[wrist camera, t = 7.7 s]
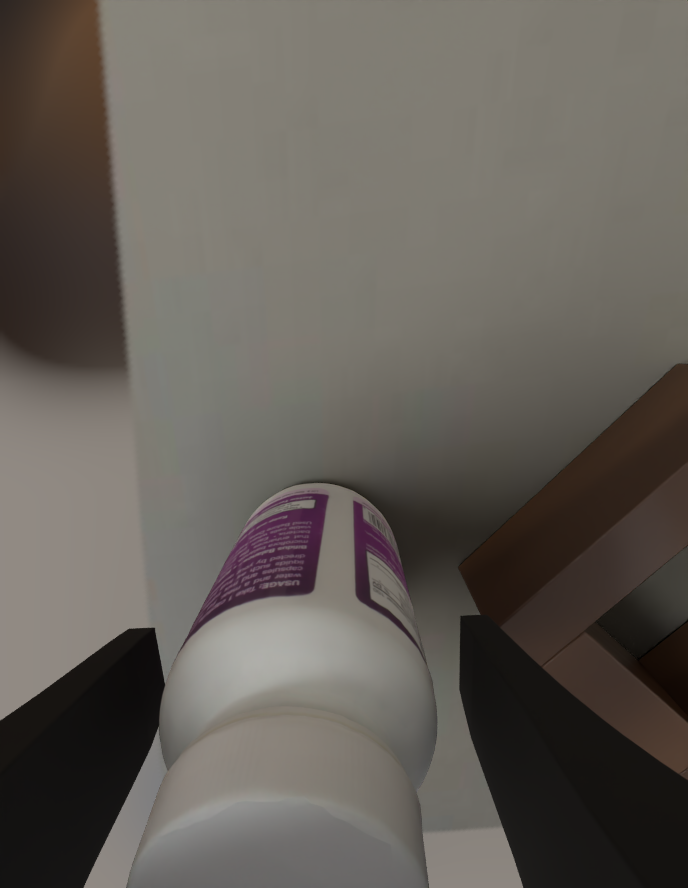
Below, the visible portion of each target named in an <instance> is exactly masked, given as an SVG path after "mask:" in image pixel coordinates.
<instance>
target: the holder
mask: <svg viewBox="0 0 688 888" xmlns="http://www.w3.org/2000/svg"><path fill="white" fill-rule="evenodd" d="M687 545H688V364H677V365H676V366H675V367H674V368H672V369H671V370H670V371H669V372H668V373H667V374H666V375H665V376H664V377H663V378H662V379H661V380H660V381H658V382H657V383H656V384H655V385H654V386H653V387H652V388H651V389H650V390H649V391H648V392H647V393H645V394H644V395H643V396H642V397H641V398H640V399H639V400H638V401H637V402H636V403H635V404H634V405H633V406H631V407H630V408H629V409H628V410H627V411H626V412H625V413H624V414H623V415H622V416H621V417H620V418H618V419H617V420H616V421H615V422H614V423H613V424H612V425H611V426H610V427H609V428H608V429H607V430H606V431H604V432H603V433H602V434H601V435H600V436H599V437H598V438H597V439H596V440H595V441H594V442H593V443H592V444H590V445H589V446H588V447H587V448H586V449H585V450H584V451H583V452H582V453H581V454H580V455H579V456H577V457H576V458H575V459H574V460H573V461H572V462H571V463H570V464H569V465H568V466H567V467H566V468H565V469H563V470H562V471H561V472H560V473H559V474H558V475H557V476H556V477H555V478H554V479H553V480H552V481H550V482H549V483H548V484H547V485H546V486H545V487H544V488H543V489H542V490H541V491H540V492H539V493H538V494H536V495H535V496H534V497H533V498H532V499H531V500H530V501H529V502H528V503H527V504H526V505H525V506H523V507H522V508H521V509H520V510H519V511H518V512H517V513H516V514H515V515H514V516H513V517H512V518H511V519H509V520H508V521H507V522H506V523H505V524H504V525H503V526H502V527H501V528H500V529H499V530H498V531H496V532H495V533H494V534H493V535H492V536H491V537H490V538H489V539H488V540H487V541H486V542H485V543H484V544H482V545H481V546H480V547H479V548H478V549H477V550H476V551H475V552H474V553H473V554H472V555H471V556H469V557H468V558H467V559H466V560H465V561H464V562H463V563H462V564H461V565H460V566H459V567H458V568H459V570H460V572H461V574H462V577H463V579H464V581H465V583H466V585H467V587H468V589H469V591H470V593H471V595H472V598H473V600H474V602H475V604H476V606H477V608H478V610H479V612H480V614H481V615H488V616H489V617H490V618H491V619H492V620H493V621H494V622H495V623H496V624H497V625H498V626H499V627H500V628H501V629H502V630H503V631H504V632H505V633H506V634H507V635H508V636H510V637H511V638H512V639H513V640H514V641H515V642H516V643H517V644H518V645H519V646H520V647H521V648H522V649H523V650H524V651H525V652H526V653H527V654H528V655H529V656H530V657H531V658H532V659H534V660H535V661H536V662H537V663H538V664H539V665H540V666H541V667H542V668H543V669H544V670H545V671H547V672H548V673H549V674H550V675H551V676H552V677H553V678H554V679H555V680H557V681H558V682H559V683H560V684H561V685H562V686H563V687H564V688H566V689H567V690H568V691H569V692H570V693H571V694H573V695H574V696H575V697H576V698H577V699H579V700H580V701H581V702H582V703H584V704H585V705H586V706H587V707H589V708H590V709H591V710H592V711H593V712H595V713H596V714H597V715H598V716H600V717H601V718H602V719H603V720H605V721H606V722H607V723H608V724H610V725H611V726H612V727H614V728H615V729H616V730H618V731H619V732H620V733H622V734H623V735H624V736H626V737H627V738H628V739H630V740H631V741H633V742H634V743H635V744H637V745H638V746H640V747H641V748H642V749H644V750H645V751H646V752H648V753H649V754H651V755H652V756H653V757H655V758H656V759H658V760H659V761H660V762H662V763H663V764H665V765H666V766H668V767H669V768H671V769H672V770H674V771H675V772H677V773H678V774H680V775H681V776H683V777H684V778H686V779H687V780H688V622H687V623H685V624H684V625H683V626H682V627H680V628H679V629H678V630H677V631H675V632H674V633H673V634H671V635H670V636H669V637H668V638H666V639H665V640H664V641H662V642H661V643H660V644H659V645H657V646H656V647H655V648H654V649H652V650H651V651H650V652H648V653H647V654H646V655H645V656H643V657H642V658H641V659H640V660H637V659H636V658H635V657H634V656H633V655H631V654H630V653H629V652H628V651H627V650H626V649H625V648H624V647H623V646H621V645H620V644H619V643H618V642H617V641H616V640H615V639H614V638H613V637H611V636H610V635H609V634H608V633H607V632H606V631H605V630H604V629H603V628H601V627H600V626H599V625H598V624H597V623H596V622H595V621H596V620H598V619H599V618H600V617H601V616H602V615H604V614H605V613H606V612H607V611H608V610H610V609H611V608H612V607H613V606H615V605H616V604H617V603H618V602H619V601H621V600H622V599H623V598H624V597H625V596H627V595H628V594H629V593H630V592H631V591H633V590H634V589H635V588H636V587H638V586H639V585H640V584H641V583H642V582H644V581H645V580H646V579H647V578H648V577H650V576H651V575H652V574H653V573H655V572H656V571H657V570H658V569H659V568H661V567H662V566H663V565H664V564H665V563H667V562H668V561H669V560H670V559H671V558H673V557H674V556H675V555H676V554H678V553H679V552H680V551H681V550H682V549H684V548H685V547H686V546H687Z"/></svg>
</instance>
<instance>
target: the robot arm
mask: <svg viewBox="0 0 688 888" xmlns="http://www.w3.org/2000/svg"><path fill="white" fill-rule="evenodd" d="M164 688H165V682H164V677H163V671H162V666H161V660H160V655H159V650H158V644H157V639H156V633H155V628H136V629H128V630H127V631H125V632H124V633H122V634H120V635H119V636H117V637H116V638H115V639H113V640H112V641H110V642H109V643H108V644H106V645H105V646H103V647H102V648H101V649H99V650H98V651H97V652H95V653H94V654H93V655H91V656H90V657H88V658H87V659H86V660H85V661H83V662H82V663H80V664H79V665H78V666H76V667H75V668H74V669H72V670H71V671H70V672H68V673H67V674H65V675H64V676H63V677H61V678H60V679H59V680H57V681H56V682H55V683H53V684H52V685H50V686H49V687H48V688H46V689H45V690H44V691H42V692H41V693H40V694H38V695H37V696H35V697H34V698H32V699H31V700H30V701H28V702H27V703H25V704H24V705H22V706H21V707H19V708H18V709H16V710H15V711H14V712H12V713H11V714H9V715H8V716H6V717H5V718H4V719H2V720H1V721H0V888H84V885H85V883H86V881H87V879H88V876H89V874H90V872H91V870H92V868H93V866H94V864H95V861H96V859H97V857H98V855H99V853H100V851H101V849H102V847H103V845H104V843H105V841H106V839H107V837H108V835H109V833H110V831H111V829H112V827H113V825H114V823H115V821H116V819H117V816H118V815H119V812H120V810H121V808H122V806H123V804H124V802H125V800H126V798H127V796H128V794H129V792H130V790H131V788H132V786H133V784H134V782H135V780H136V777H137V775H138V773H139V771H140V769H141V767H142V765H143V763H144V761H145V759H146V756H147V754H148V752H149V750H150V748H151V746H152V743H153V740H154V737H155V735H156V732H157V729H158V727H159V716H160V707H161V700H162V695H163V691H164ZM459 690H460V694H461V698H462V702H463V707H464V711H465V715H466V719H467V723H468V727H469V731H470V735H471V738H472V741H473V744H474V747H475V750H476V753H477V756H478V758H479V761H480V764H481V767H482V770H483V773H484V776H485V778H486V781H487V784H488V787H489V790H490V792H491V795H492V798H493V801H494V804H495V806H496V809H497V812H498V815H499V818H500V820H501V823H502V826H503V829H504V832H505V834H506V837H507V840H508V842H509V846H510V848H511V851H512V854H513V857H514V859H515V863H516V866H517V869H518V872H519V875H520V878H521V881H522V884H523V888H688V780H687V779H686V778H684V777H683V776H681V775H680V774H678V773H677V772H675V771H674V770H672V769H671V768H669V767H668V766H666V765H665V764H663V763H662V762H660V761H659V760H658V759H656V758H655V757H653V756H652V755H651V754H649V753H648V752H646V751H645V750H644V749H642V748H641V747H640V746H638V745H637V744H635V743H634V742H633V741H631V740H630V739H628V738H627V737H626V736H624V735H623V734H622V733H620V732H619V731H618V730H616V729H615V728H614V727H612V726H611V725H610V724H608V723H607V722H606V721H605V720H603V719H602V718H601V717H600V716H598V715H597V714H596V713H595V712H593V711H592V710H591V709H590V708H589V707H587V706H586V705H585V704H584V703H582V702H581V701H580V700H579V699H577V698H576V697H575V696H574V695H573V694H571V693H570V692H569V691H568V690H567V689H566V688H564V687H563V686H562V685H561V684H560V683H559V682H558V681H557V680H555V679H554V678H553V677H552V676H551V675H550V674H549V673H548V672H547V671H545V670H544V669H543V668H542V667H541V666H540V665H539V664H538V663H537V662H536V661H535V660H534V659H532V658H531V657H530V656H529V655H528V654H527V653H526V652H525V651H524V650H523V649H522V648H521V647H520V646H519V645H518V644H517V643H516V642H515V641H514V640H513V639H512V638H511V637H510V636H508V635H507V634H506V633H505V632H504V631H503V630H502V629H501V628H500V627H499V626H498V625H497V624H496V623H495V622H494V621H493V620H492V619H491V618H490V617H489V616H488V615H469V616H461V622H460V687H459Z"/></svg>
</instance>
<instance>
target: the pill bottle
mask: <svg viewBox="0 0 688 888" xmlns="http://www.w3.org/2000/svg"><path fill="white" fill-rule="evenodd" d="M159 735H160V742H161V748H162V753H163V757H164V761H165V764H166V767H167V770H168V772H167V774H166V775H165V777H164V779H163V781H162V783H161V785H160V788H159V791H158V793H157V796H156V799H155V802H154V805H153V808H152V810H151V813H150V816H149V819H148V822H147V825H146V827H145V831H144V833H143V836H142V839H141V842H140V844H139V847H138V850H137V853H136V855H135V858H134V861H133V864H132V867H131V870H130V874H129V878H128V883H127V887H126V888H429V883H428V875H427V867H426V859H425V851H424V843H423V834H422V818H421V809H420V803H419V799H418V796H417V794H416V793H417V791H418V789H419V788H420V786H421V784H422V782H423V780H424V778H425V776H426V774H427V772H428V769H429V766H430V764H431V761H432V757H433V754H434V750H435V744H436V736H437V709H436V702H435V696H434V690H433V682H432V679H431V675H430V672H429V669H428V666H427V662H426V658H425V654H424V650H423V646H422V643H421V639H420V635H419V631H418V627H417V623H416V619H415V614H414V610H413V607H412V603H411V599H410V595H409V592H408V588H407V584H406V580H405V576H404V572H403V568H402V564H401V559H400V556H399V552H398V548H397V544H396V541H395V538H394V535H393V533H392V530H391V528H390V526H389V524H388V523H387V521H386V519H385V518H384V516H383V515H382V513H381V512H379V511H378V509H377V508H376V507H375V506H373V505H372V504H371V503H370V502H369V501H368V500H367V499H365V498H364V497H362V496H361V495H359V494H358V493H356V492H354V491H353V490H350V489H347V488H344V487H341V486H338V485H333V484H327V483H309V484H301V485H295V486H292V487H289V488H286V489H284V490H282V491H280V492H278V493H276V494H275V495H273V496H272V497H270V498H269V499H267V500H266V501H265V502H264V503H262V504H261V505H260V506H259V507H258V508H257V510H256V511H255V512H254V513H253V514H252V516H251V517H250V519H249V520H248V522H247V523H246V525H245V527H244V528H243V530H242V532H241V534H240V536H239V538H238V539H237V541H236V543H235V545H234V547H233V549H232V551H231V553H230V555H229V556H228V558H227V560H226V562H225V564H224V566H223V568H222V570H221V572H220V574H219V576H218V578H217V580H216V581H215V583H214V585H213V587H212V589H211V591H210V593H209V595H208V597H207V599H206V600H205V602H204V604H203V606H202V608H201V610H200V612H199V614H198V616H197V618H196V620H195V622H194V624H193V626H192V628H191V630H190V632H189V634H188V636H187V638H186V640H185V642H184V644H183V646H182V647H181V649H180V651H179V653H178V655H177V657H176V659H175V661H174V663H173V665H172V667H171V670H170V673H169V676H168V679H167V681H166V684H165V688H164V691H163V695H162V700H161V707H160V716H159Z"/></svg>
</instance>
